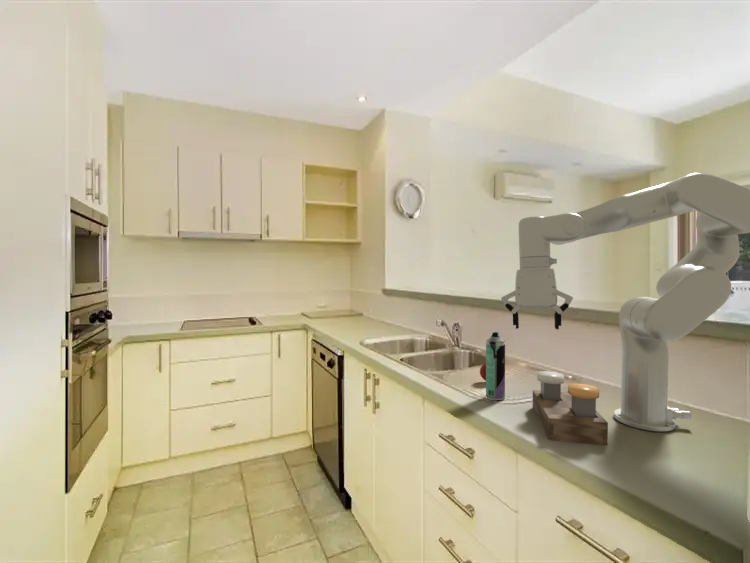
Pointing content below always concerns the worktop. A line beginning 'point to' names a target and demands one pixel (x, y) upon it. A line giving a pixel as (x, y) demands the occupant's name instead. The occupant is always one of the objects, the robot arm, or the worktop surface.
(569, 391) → the orange button
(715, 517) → the worktop surface
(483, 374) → the onion
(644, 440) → the worktop surface
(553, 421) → the button panel
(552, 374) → the white button
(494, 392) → the spray can
